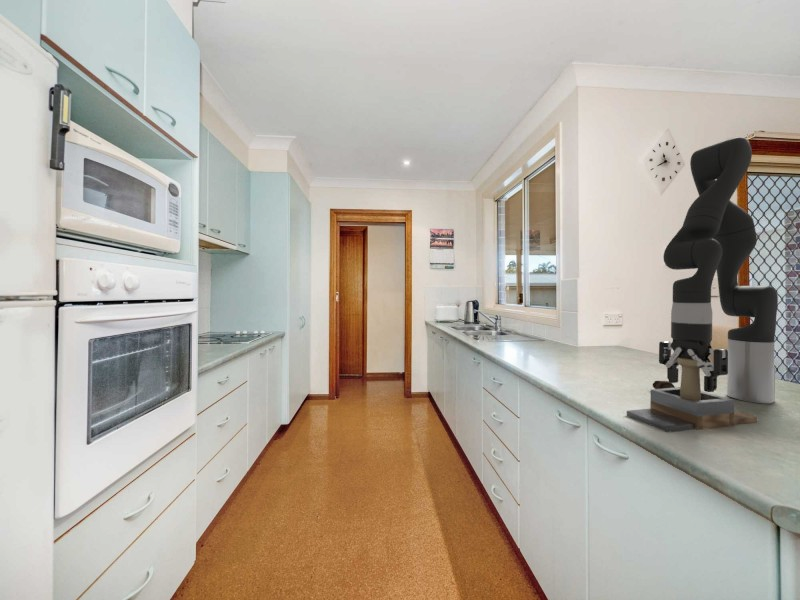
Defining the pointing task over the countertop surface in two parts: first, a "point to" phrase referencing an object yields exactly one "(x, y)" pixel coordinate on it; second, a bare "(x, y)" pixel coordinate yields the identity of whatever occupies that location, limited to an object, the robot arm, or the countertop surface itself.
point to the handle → (690, 379)
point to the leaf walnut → (707, 417)
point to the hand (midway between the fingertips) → (690, 386)
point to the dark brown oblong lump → (663, 384)
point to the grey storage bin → (681, 409)
